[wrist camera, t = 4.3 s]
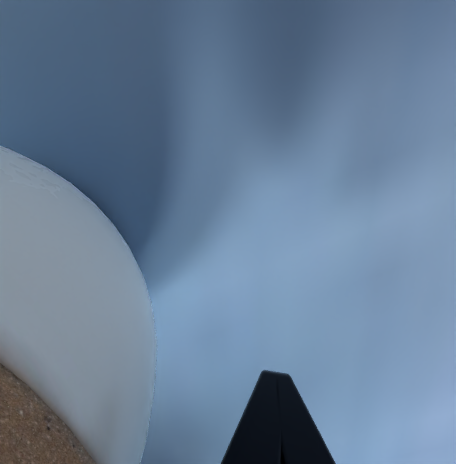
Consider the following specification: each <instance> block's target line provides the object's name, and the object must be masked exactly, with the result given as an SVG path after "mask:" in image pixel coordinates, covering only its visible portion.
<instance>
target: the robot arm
mask: <svg viewBox="0 0 456 464" xmlns="http://www.w3.org/2000/svg"><path fill="white" fill-rule="evenodd" d="M221 464H336V463H335V461H334V460H333V458H332V456H331V454H330V452H329V450H328V448H327V446H326V444H325V442H324V440H323V438H322V436H321V434H320V432H319V431H318V429H317V427H316V425H315V423H314V421H313V419H312V417H311V415H310V413H309V411H308V409H307V407H306V405H305V403H304V402H303V400H302V398H301V396H300V394H299V392H298V390H297V388H296V386H295V384H294V382H293V380H292V378H291V377H290V375H288V374H286V373H280V372H273V371H267V370H263V371H262V372H261V374H260V376H259V379H258V381H257V383H256V385H255V388H254V390H253V392H252V394H251V397H250V399H249V401H248V403H247V406H246V408H245V410H244V412H243V415H242V417H241V419H240V421H239V424H238V426H237V428H236V430H235V433H234V435H233V437H232V439H231V442H230V444H229V446H228V448H227V451H226V453H225V455H224V457H223V460H222V462H221Z"/></svg>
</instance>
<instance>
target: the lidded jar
mask: <svg viewBox="0 0 456 464" xmlns="http://www.w3.org/2000/svg"><path fill="white" fill-rule="evenodd" d="M156 361H157V339H156V330H155V321H154V315H153V308H152V302H151V299H150V295H149V292H148V289H147V286H146V282H145V279H144V277H143V275H142V273H141V270H140V268H139V266H138V264H137V262H136V260H135V258H134V256H133V254H132V252H131V250H130V248H129V246H128V244H127V243H126V242H125V240H124V239H123V237H122V236H121V234H120V233H119V231H118V230H117V229H116V227H115V226H114V224H113V223H112V222H111V221H110V220H109V219H108V218H107V216H106V215H105V214H104V213H103V212H102V211H101V210H100V209H99V208H98V207H97V205H96V204H95V203H94V202H93V201H91V200H90V199H89V198H88V197H87V196H86V195H84V194H83V193H82V192H81V191H80V190H79V189H77V188H76V187H75V186H74V185H73V184H71V183H70V182H68V181H67V180H65V179H64V178H62V177H61V176H59V175H58V174H56V173H55V172H53V171H52V170H50V169H49V168H47V167H45V166H43V165H41V164H39V163H37V162H35V161H33V160H31V159H29V158H27V157H25V156H23V155H21V154H19V153H17V152H15V151H12V150H10V149H8V148H5V147H3V146H0V464H140V463H141V459H142V455H143V451H144V447H145V444H146V440H147V434H148V428H149V422H150V416H151V410H152V404H153V398H154V388H155V378H156Z"/></svg>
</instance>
